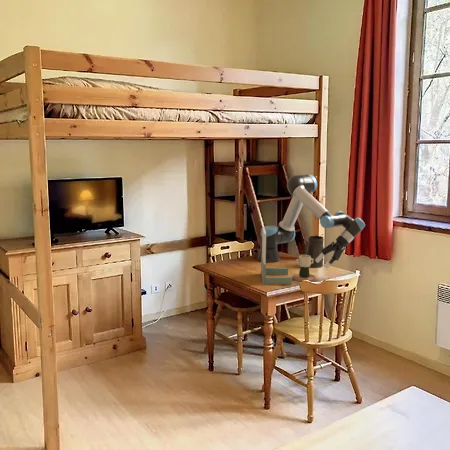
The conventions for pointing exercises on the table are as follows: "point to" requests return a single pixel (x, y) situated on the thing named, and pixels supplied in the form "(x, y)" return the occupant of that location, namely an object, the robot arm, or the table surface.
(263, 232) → the grey-green stand
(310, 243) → the beer stein
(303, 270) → the character mug
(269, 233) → the robot arm
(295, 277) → the terracotta saucer
